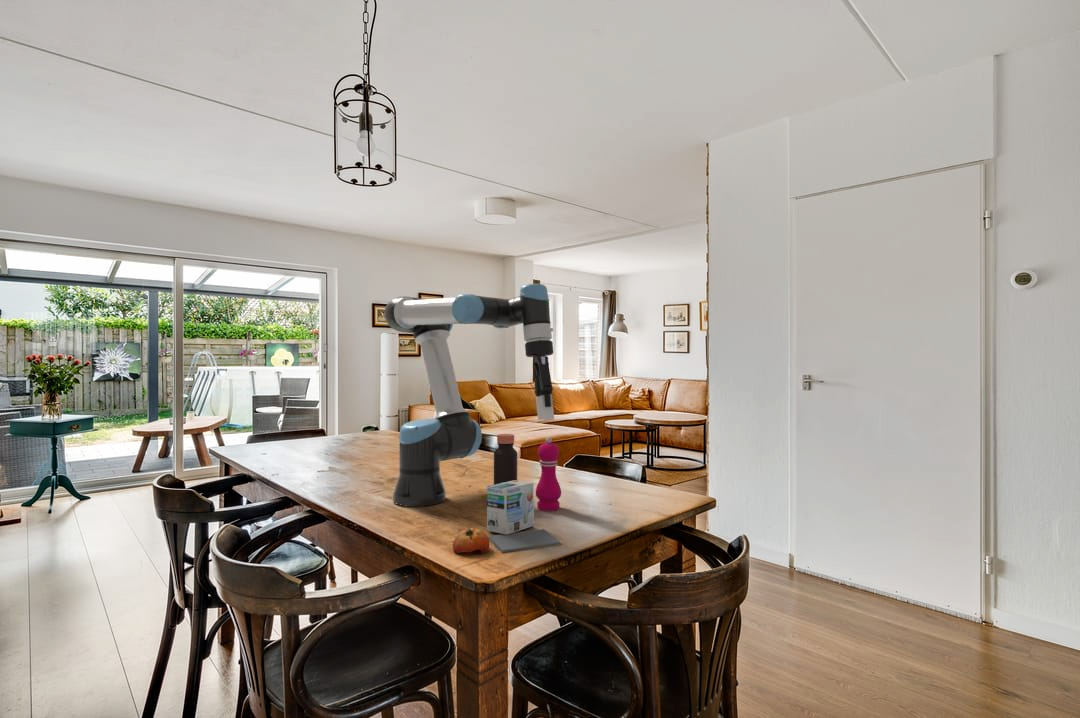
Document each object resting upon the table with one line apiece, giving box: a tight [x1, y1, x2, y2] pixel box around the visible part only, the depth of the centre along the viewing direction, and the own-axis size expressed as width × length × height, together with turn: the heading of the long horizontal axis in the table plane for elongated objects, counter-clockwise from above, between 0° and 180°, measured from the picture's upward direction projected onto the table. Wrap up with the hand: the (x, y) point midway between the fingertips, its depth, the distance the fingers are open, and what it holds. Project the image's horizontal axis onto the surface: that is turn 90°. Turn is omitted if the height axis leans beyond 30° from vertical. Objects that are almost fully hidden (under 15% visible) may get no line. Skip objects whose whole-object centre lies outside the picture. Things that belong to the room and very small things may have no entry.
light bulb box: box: [486, 479, 535, 535], centre depth 131 cm, size 11×7×11 cm, turn 142°
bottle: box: [493, 433, 518, 485], centre depth 153 cm, size 7×7×20 cm
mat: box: [487, 528, 562, 553], centre depth 122 cm, size 10×14×1 cm
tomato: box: [452, 527, 490, 556], centre depth 117 cm, size 8×7×7 cm
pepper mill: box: [535, 436, 562, 512], centre depth 149 cm, size 7×7×20 cm
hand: (545, 420), depth 142 cm, fingers open, 13 cm apart
